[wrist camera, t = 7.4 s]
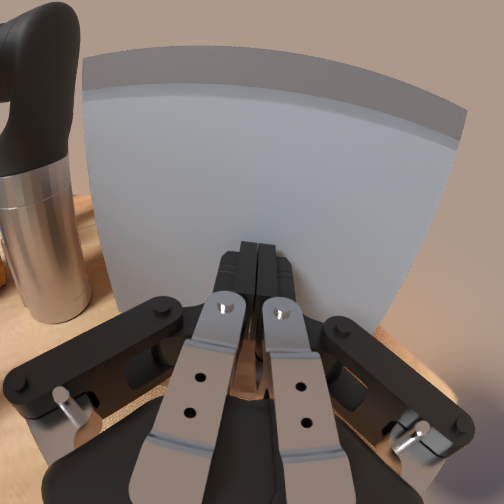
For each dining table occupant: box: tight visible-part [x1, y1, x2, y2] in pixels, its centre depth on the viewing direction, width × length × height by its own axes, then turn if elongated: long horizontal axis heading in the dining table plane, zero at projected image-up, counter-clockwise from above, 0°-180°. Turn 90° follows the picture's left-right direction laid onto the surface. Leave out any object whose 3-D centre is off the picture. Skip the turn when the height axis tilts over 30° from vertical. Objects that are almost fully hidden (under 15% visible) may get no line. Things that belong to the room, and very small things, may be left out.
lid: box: [82, 46, 467, 335], centre depth 13 cm, size 16×14×2 cm
